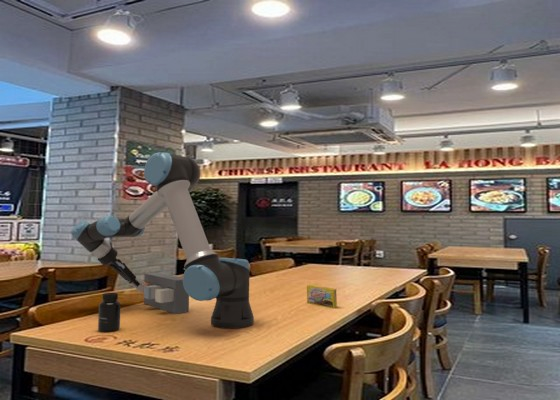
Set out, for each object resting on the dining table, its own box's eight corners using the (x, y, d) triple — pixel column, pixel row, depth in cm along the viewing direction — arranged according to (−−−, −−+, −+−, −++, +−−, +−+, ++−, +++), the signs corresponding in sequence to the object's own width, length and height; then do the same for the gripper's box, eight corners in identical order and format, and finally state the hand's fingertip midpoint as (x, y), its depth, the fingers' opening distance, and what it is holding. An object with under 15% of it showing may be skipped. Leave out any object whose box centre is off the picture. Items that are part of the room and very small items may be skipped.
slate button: (148, 299, 182) (148, 287, 182) (143, 297, 186) (143, 286, 186) (166, 297, 187) (166, 285, 188) (161, 295, 191) (161, 284, 191)
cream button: (160, 303, 174) (160, 290, 174) (155, 301, 177) (155, 289, 178) (179, 300, 179) (179, 289, 179) (173, 299, 183) (174, 287, 183)
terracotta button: (147, 294, 194) (147, 283, 194) (143, 293, 197) (143, 282, 197) (164, 292, 199) (164, 282, 199) (160, 291, 202) (160, 281, 202)
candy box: (306, 303, 201) (306, 284, 201) (309, 303, 202) (309, 284, 203) (333, 309, 189) (333, 289, 189) (337, 308, 190) (337, 288, 191)
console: (175, 314, 176) (175, 280, 177) (143, 303, 198) (144, 273, 199) (188, 312, 180) (189, 279, 181) (156, 301, 202) (157, 272, 203)
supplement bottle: (96, 333, 146) (97, 295, 147) (99, 328, 153) (100, 292, 153) (119, 331, 148) (120, 294, 149) (120, 327, 155) (121, 291, 155)
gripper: (92, 258, 188) (130, 294, 198) (103, 260, 178) (142, 298, 188) (105, 245, 191) (142, 281, 201) (116, 246, 181) (155, 284, 192)
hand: (142, 289), depth 195 cm, fingers closed
